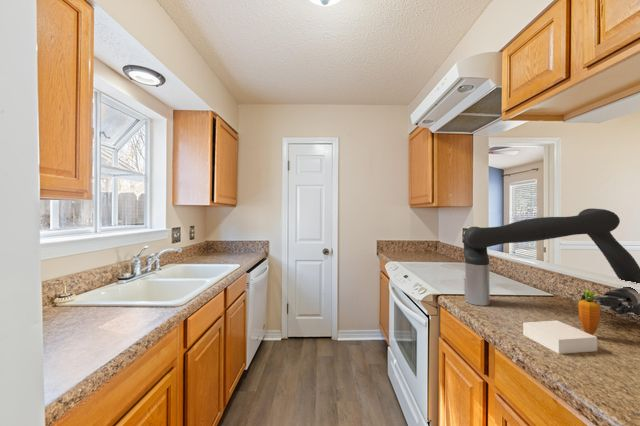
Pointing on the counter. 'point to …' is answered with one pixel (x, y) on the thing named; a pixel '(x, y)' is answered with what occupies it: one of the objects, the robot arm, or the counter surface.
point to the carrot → (589, 312)
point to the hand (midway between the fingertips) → (601, 307)
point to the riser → (560, 337)
